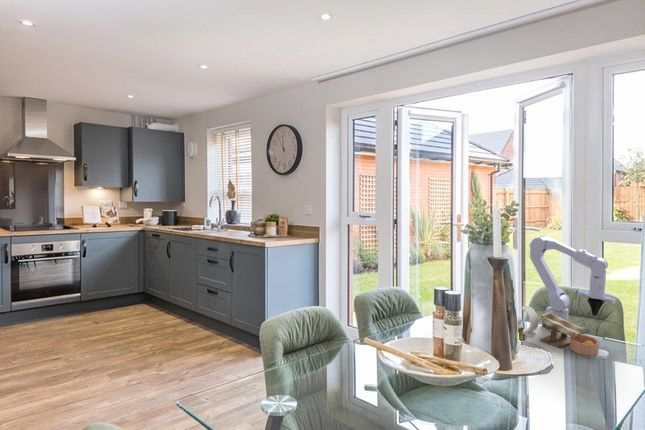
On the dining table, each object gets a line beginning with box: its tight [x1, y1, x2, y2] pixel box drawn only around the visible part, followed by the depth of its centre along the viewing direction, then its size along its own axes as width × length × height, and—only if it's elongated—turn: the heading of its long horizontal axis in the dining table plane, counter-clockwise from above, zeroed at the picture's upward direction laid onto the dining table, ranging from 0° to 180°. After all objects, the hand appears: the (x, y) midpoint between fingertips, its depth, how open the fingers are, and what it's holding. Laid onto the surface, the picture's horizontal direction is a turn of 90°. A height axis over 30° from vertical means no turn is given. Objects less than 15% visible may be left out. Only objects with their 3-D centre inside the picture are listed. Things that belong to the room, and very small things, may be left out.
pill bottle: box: [517, 316, 524, 342], centre depth 191 cm, size 6×6×11 cm
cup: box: [569, 334, 600, 356], centre depth 184 cm, size 10×10×4 cm
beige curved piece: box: [539, 312, 590, 338], centre depth 193 cm, size 16×12×6 cm
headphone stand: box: [520, 305, 540, 337], centre depth 200 cm, size 5×6×12 cm
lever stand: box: [540, 326, 570, 349], centre depth 192 cm, size 9×13×8 cm
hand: (594, 315), depth 196 cm, fingers closed
